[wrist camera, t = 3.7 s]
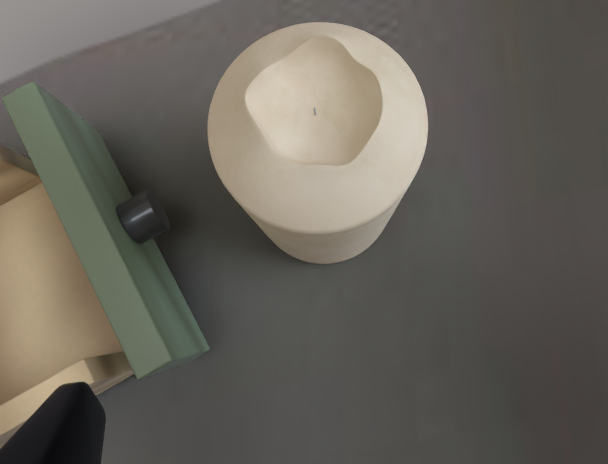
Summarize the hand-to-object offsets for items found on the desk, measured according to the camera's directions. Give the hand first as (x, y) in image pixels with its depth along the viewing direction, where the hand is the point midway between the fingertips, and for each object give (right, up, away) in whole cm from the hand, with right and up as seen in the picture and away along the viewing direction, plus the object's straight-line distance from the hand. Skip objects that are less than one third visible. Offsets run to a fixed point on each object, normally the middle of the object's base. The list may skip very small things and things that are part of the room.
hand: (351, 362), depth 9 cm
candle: (0, +4, +13) cm, 13 cm away
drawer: (-11, 0, +12) cm, 16 cm away
